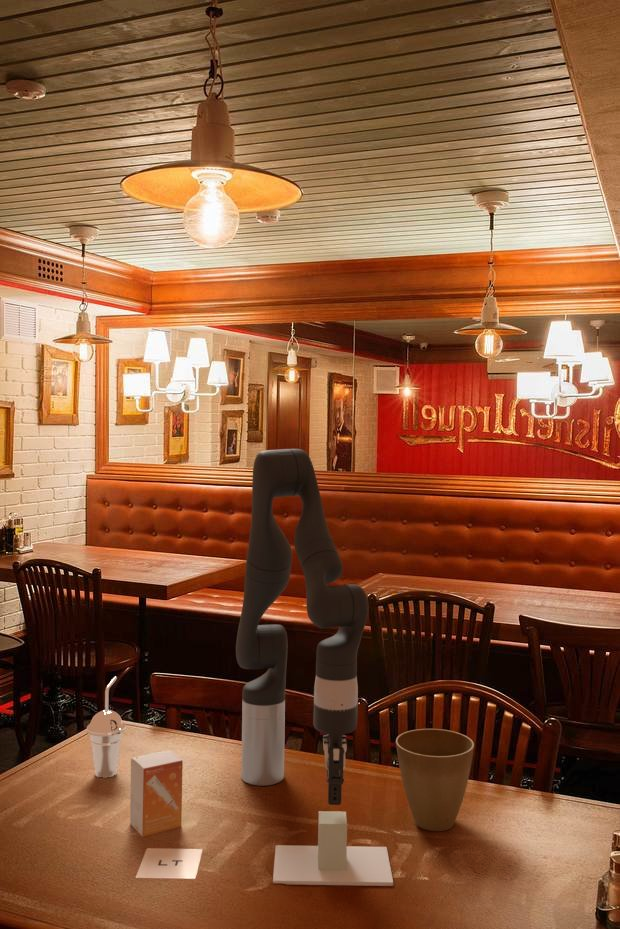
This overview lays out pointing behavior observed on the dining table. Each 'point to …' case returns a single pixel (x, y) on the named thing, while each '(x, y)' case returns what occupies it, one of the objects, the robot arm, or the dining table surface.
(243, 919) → the dining table surface
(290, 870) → the white rectangular board
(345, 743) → the robot arm
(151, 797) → the small box
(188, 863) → the tile
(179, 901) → the dining table surface
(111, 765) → the cup with straw
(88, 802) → the dining table surface
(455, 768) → the plant pot
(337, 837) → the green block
